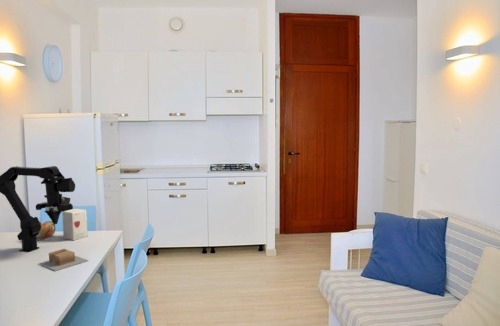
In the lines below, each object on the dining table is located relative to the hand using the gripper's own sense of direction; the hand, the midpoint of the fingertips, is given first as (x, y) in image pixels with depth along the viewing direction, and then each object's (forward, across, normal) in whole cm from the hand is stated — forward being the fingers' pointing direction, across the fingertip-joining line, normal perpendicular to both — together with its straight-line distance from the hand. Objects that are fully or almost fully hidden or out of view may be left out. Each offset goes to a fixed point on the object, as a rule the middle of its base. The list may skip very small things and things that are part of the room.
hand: (55, 224), depth 193 cm
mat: (+14, -18, +12) cm, 26 cm away
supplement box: (+13, +9, -20) cm, 26 cm away
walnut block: (+11, -12, +11) cm, 19 cm away
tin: (+13, +25, -13) cm, 31 cm away
